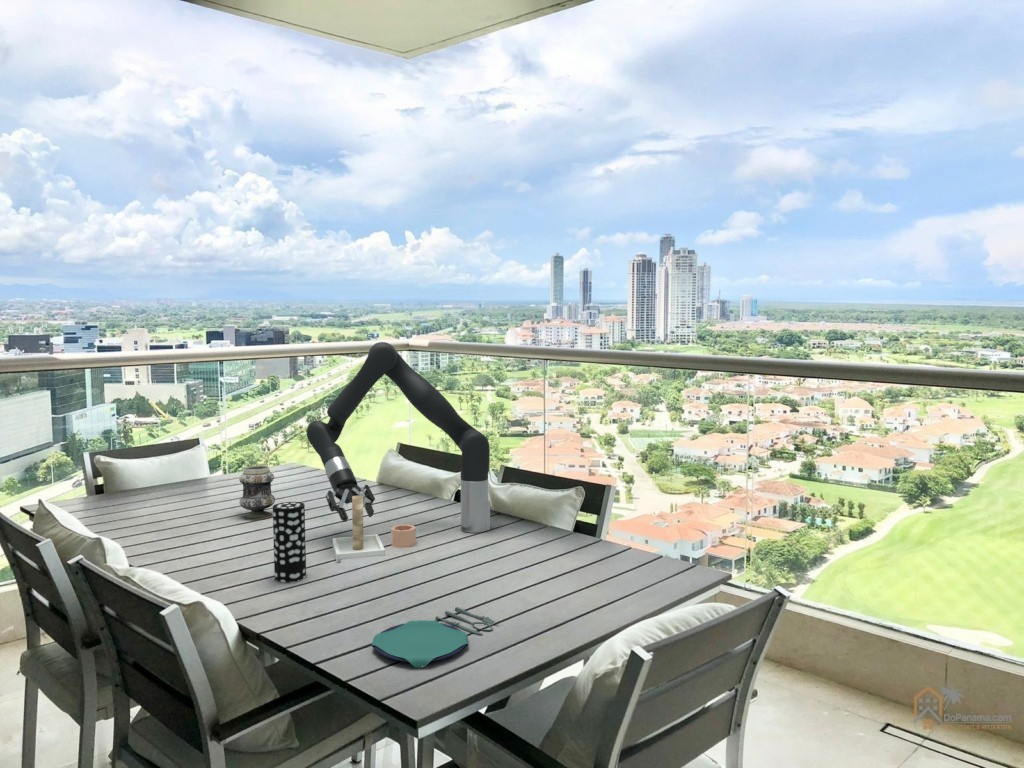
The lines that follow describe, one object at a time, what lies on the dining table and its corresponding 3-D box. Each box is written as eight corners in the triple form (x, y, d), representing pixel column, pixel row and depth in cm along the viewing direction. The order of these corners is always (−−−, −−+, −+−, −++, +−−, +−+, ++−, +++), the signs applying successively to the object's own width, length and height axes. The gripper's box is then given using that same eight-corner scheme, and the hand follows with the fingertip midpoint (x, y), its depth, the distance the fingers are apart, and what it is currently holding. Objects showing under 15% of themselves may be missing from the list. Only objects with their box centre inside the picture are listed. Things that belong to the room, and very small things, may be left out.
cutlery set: (354, 649, 158) (354, 639, 158) (452, 610, 181) (453, 601, 181) (418, 679, 145) (418, 668, 145) (515, 632, 168) (515, 623, 168)
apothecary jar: (275, 511, 273) (273, 463, 272) (275, 519, 262) (274, 469, 261) (240, 513, 270) (238, 465, 268) (239, 522, 258) (237, 471, 257)
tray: (377, 542, 235) (377, 534, 235) (385, 558, 219) (385, 549, 218) (332, 546, 231) (332, 538, 230) (336, 562, 214) (336, 554, 214)
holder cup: (413, 542, 234) (413, 523, 234) (417, 549, 227) (417, 530, 227) (389, 544, 232) (389, 525, 232) (393, 551, 225) (392, 532, 224)
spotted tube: (297, 583, 197) (295, 510, 196) (268, 581, 199) (266, 508, 197) (311, 573, 206) (309, 502, 204) (284, 571, 207) (282, 501, 206)
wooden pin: (362, 546, 227) (362, 495, 225) (363, 549, 224) (363, 497, 222) (352, 547, 226) (351, 496, 224) (353, 550, 223) (352, 498, 221)
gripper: (322, 470, 224) (341, 515, 216) (364, 464, 233) (384, 507, 225) (315, 484, 228) (333, 529, 220) (356, 478, 237) (375, 520, 230)
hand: (359, 517), depth 223 cm, fingers open, 8 cm apart
